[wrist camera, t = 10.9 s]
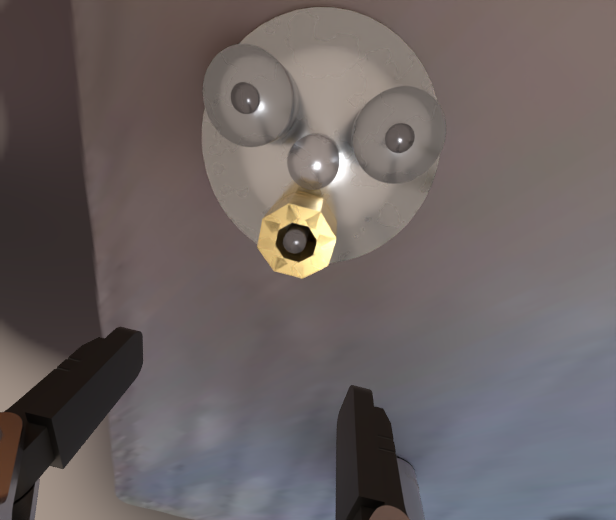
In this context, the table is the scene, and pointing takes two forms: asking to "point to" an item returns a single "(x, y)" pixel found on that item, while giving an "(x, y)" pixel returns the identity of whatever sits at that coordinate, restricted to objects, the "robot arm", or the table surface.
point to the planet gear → (301, 212)
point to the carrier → (322, 126)
